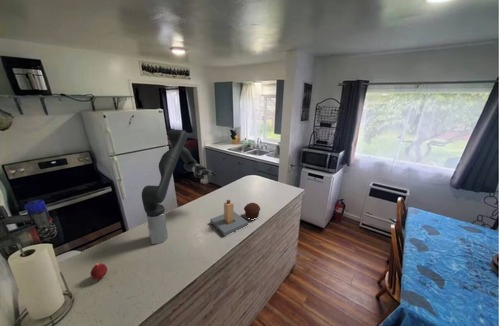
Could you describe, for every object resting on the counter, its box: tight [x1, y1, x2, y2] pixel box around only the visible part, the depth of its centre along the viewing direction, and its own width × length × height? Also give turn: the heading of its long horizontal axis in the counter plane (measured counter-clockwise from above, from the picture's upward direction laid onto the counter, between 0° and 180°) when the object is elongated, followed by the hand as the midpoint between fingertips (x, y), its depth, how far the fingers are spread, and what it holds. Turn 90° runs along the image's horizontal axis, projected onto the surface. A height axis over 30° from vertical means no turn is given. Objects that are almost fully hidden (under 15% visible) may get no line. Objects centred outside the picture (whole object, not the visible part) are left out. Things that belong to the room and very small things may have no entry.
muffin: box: [243, 202, 261, 219], centre depth 135 cm, size 12×11×10 cm
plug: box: [223, 199, 234, 225], centre depth 124 cm, size 4×4×18 cm
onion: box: [90, 262, 108, 280], centre depth 85 cm, size 6×6×8 cm
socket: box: [209, 210, 249, 237], centre depth 126 cm, size 18×18×3 cm
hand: (209, 176), depth 128 cm, fingers open, 8 cm apart
